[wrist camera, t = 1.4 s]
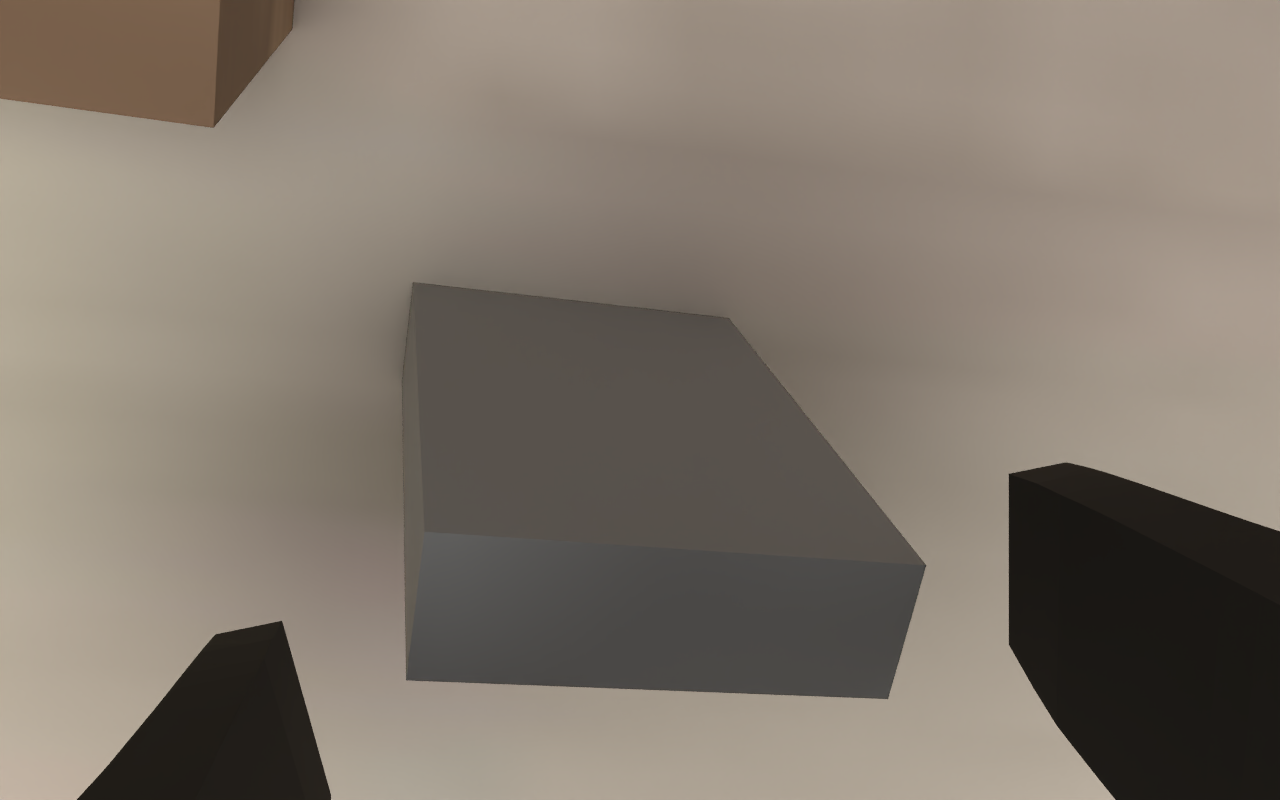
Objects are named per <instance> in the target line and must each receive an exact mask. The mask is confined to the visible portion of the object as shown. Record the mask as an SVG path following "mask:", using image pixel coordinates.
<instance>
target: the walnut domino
mask: <svg viewBox="0 0 1280 800" xmlns="http://www.w3.org/2000/svg"><path fill="white" fill-rule="evenodd" d="M293 10H294V0H0V98H1V99H8V100H15V101H23V102H30V103H37V104H45V105H52V106H59V107H66V108H74V109H81V110H88V111H96V112H103V113H110V114H117V115H125V116H132V117H139V118H147V119H154V120H161V121H168V122H176V123H183V124H190V125H197V126H205V127H212V128H214V127H215V125H216V124H217V123H218V122H219V120H220V119H221V118H222V116H223V115H224V114H225V113H226V111H227V110H228V109H229V108H230V106H231V105H232V104H233V103H234V101H235V100H236V99H237V98H238V96H239V95H240V94H241V93H242V91H243V90H244V89H245V88H246V86H247V85H248V84H249V83H250V81H251V80H252V79H253V78H254V76H255V75H256V74H257V73H258V71H259V70H260V69H261V68H262V66H263V65H264V64H265V62H266V61H267V60H268V59H269V57H270V56H271V55H272V54H273V52H274V51H275V50H276V49H277V47H278V46H279V45H280V44H281V42H282V41H283V40H284V39H285V37H286V36H287V35H288V34H289V32H290V31H291V30H292V24H293Z"/></svg>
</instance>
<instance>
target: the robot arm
mask: <svg viewBox="0 0 1280 800" xmlns="http://www.w3.org/2000/svg"><path fill="white" fill-rule="evenodd" d="M1009 646H1010V647H1011V649H1012V651H1013V653H1014V654H1015V656H1016V658H1017V660H1018V661H1019V663H1020V665H1021V667H1022V668H1023V670H1024V672H1025V674H1026V675H1027V677H1028V679H1029V681H1030V682H1031V684H1032V686H1033V688H1034V689H1035V691H1036V693H1037V694H1038V696H1039V697H1040V699H1041V701H1042V702H1043V704H1044V706H1045V707H1046V709H1047V710H1048V712H1049V714H1050V715H1051V717H1052V719H1053V720H1054V722H1055V723H1056V725H1057V726H1058V728H1059V729H1060V730H1061V731H1062V733H1063V734H1064V735H1065V737H1066V738H1067V739H1068V741H1069V742H1070V743H1071V744H1072V746H1073V747H1074V748H1075V749H1076V751H1077V752H1078V753H1079V754H1080V756H1081V757H1082V758H1083V760H1084V761H1085V762H1086V763H1087V765H1088V766H1089V767H1090V768H1091V770H1092V771H1093V772H1094V773H1095V775H1096V776H1097V777H1098V778H1099V780H1100V781H1101V782H1102V783H1103V785H1104V786H1105V787H1106V788H1107V790H1108V791H1109V792H1110V793H1111V795H1112V796H1113V797H1114V798H1115V799H1116V800H1280V531H1277V530H1274V529H1271V528H1268V527H1264V526H1261V525H1258V524H1255V523H1252V522H1249V521H1246V520H1243V519H1241V518H1238V517H1235V516H1232V515H1229V514H1226V513H1223V512H1220V511H1217V510H1214V509H1211V508H1208V507H1206V506H1203V505H1200V504H1197V503H1194V502H1191V501H1188V500H1185V499H1182V498H1180V497H1177V496H1174V495H1171V494H1168V493H1165V492H1162V491H1159V490H1157V489H1154V488H1151V487H1148V486H1145V485H1142V484H1139V483H1136V482H1133V481H1130V480H1127V479H1124V478H1121V477H1118V476H1115V475H1112V474H1108V473H1105V472H1102V471H1098V470H1095V469H1091V468H1088V467H1084V466H1079V465H1075V464H1071V463H1061V464H1056V465H1051V466H1046V467H1041V468H1036V469H1031V470H1026V471H1021V472H1016V473H1011V474H1009ZM77 800H331V794H330V790H329V786H328V783H327V779H326V776H325V772H324V769H323V765H322V762H321V758H320V754H319V751H318V747H317V744H316V740H315V737H314V733H313V729H312V726H311V722H310V719H309V715H308V712H307V708H306V705H305V701H304V697H303V694H302V690H301V687H300V683H299V680H298V676H297V673H296V669H295V665H294V662H293V658H292V655H291V651H290V648H289V644H288V640H287V637H286V633H285V630H284V626H283V623H282V621H280V622H275V623H270V624H265V625H260V626H255V627H250V628H245V629H240V630H235V631H230V632H225V633H220V634H216V635H215V636H214V637H213V638H212V639H211V640H210V641H209V643H208V644H207V645H206V646H205V647H204V648H203V650H202V651H201V652H200V653H199V654H198V656H197V657H196V658H195V659H194V661H193V662H192V663H191V664H190V666H189V667H188V668H187V669H186V671H185V672H184V673H183V674H182V676H181V677H180V678H179V679H178V681H177V682H176V683H175V684H174V686H173V687H172V688H171V689H170V691H169V692H168V693H167V694H166V696H165V697H164V698H163V699H162V701H161V702H160V703H159V704H158V706H157V707H156V708H155V709H154V711H153V712H152V713H151V714H150V715H149V717H148V718H147V719H146V720H145V722H144V723H143V724H142V725H141V726H140V728H139V729H138V730H137V731H136V732H135V734H134V735H133V736H132V737H131V738H130V740H129V741H128V742H127V743H126V744H125V746H124V747H123V748H122V749H121V750H120V752H119V753H118V754H117V755H116V756H115V758H114V759H113V760H112V761H111V762H110V764H109V765H108V766H107V767H106V768H105V769H104V771H103V772H102V773H101V774H100V775H99V776H98V777H97V778H96V779H95V780H94V782H93V783H92V784H91V785H90V786H89V787H88V788H87V789H86V790H85V791H84V792H83V794H82V795H81V796H80V797H79V798H78V799H77Z"/></svg>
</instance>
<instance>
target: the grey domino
mask: <svg viewBox="0 0 1280 800" xmlns="http://www.w3.org/2000/svg"><path fill="white" fill-rule="evenodd" d="M402 416H403V489H404V561H405V633H406V680H414V681H439V682H465V683H491V684H517V685H542V686H568V687H594V688H619V689H645V690H671V691H697V692H722V693H748V694H774V695H800V696H825V697H851V698H877V699H888V697H889V693H890V690H891V686H892V683H893V679H894V676H895V672H896V669H897V665H898V662H899V658H900V655H901V651H902V648H903V644H904V641H905V637H906V634H907V630H908V627H909V623H910V620H911V616H912V613H913V609H914V606H915V602H916V599H917V595H918V592H919V588H920V585H921V581H922V578H923V574H924V571H925V567H926V565H925V563H924V562H923V561H922V560H921V558H920V557H919V556H918V555H917V553H916V552H915V551H914V550H913V548H912V547H911V546H910V545H909V543H908V542H907V541H906V540H905V538H904V537H903V536H902V535H901V533H900V532H899V531H898V530H897V528H896V527H895V526H894V525H893V523H892V522H891V521H890V520H889V518H888V517H887V516H886V515H885V513H884V512H883V511H882V510H881V508H880V507H879V506H878V505H877V503H876V502H875V501H874V500H873V498H872V497H871V496H870V495H869V493H868V492H867V491H866V490H865V488H864V487H863V486H862V485H861V483H860V482H859V481H858V480H857V478H856V477H855V476H854V475H853V473H852V472H851V471H850V470H849V468H848V467H847V466H846V465H845V463H844V462H843V461H842V460H841V458H840V457H839V456H838V455H837V453H836V452H835V451H834V450H833V448H832V447H831V446H830V445H829V443H828V442H827V441H826V440H825V438H824V437H823V436H822V435H821V433H820V432H819V431H818V430H817V428H816V427H815V426H814V425H813V423H812V422H811V421H810V420H809V418H808V417H807V416H806V415H805V413H804V412H803V411H802V410H801V408H800V407H799V406H798V404H797V403H796V402H795V401H794V399H793V398H792V397H791V396H790V394H789V393H788V392H787V391H786V389H785V388H784V387H783V386H782V384H781V383H780V382H779V381H778V379H777V378H776V377H775V376H774V374H773V373H772V372H771V371H770V369H769V368H768V367H767V366H766V364H765V363H764V362H763V361H762V359H761V358H760V357H759V356H758V354H757V353H756V352H755V351H754V349H753V348H752V347H751V346H750V344H749V343H748V342H747V341H746V339H745V338H744V337H743V336H742V334H741V333H740V332H739V331H738V329H737V328H736V327H735V326H734V324H733V323H732V322H731V321H730V319H729V318H721V317H713V316H704V315H695V314H686V313H677V312H669V311H660V310H651V309H642V308H633V307H625V306H616V305H607V304H598V303H589V302H581V301H572V300H563V299H554V298H545V297H536V296H528V295H519V294H510V293H501V292H492V291H484V290H475V289H466V288H457V287H448V286H440V285H431V284H422V283H413V287H412V296H411V305H410V314H409V323H408V332H407V341H406V350H405V359H404V368H403V377H402Z"/></svg>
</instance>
